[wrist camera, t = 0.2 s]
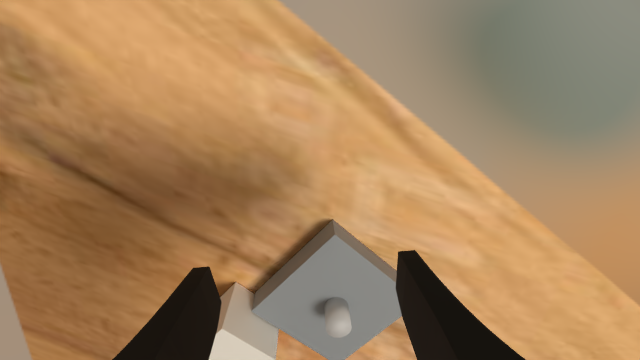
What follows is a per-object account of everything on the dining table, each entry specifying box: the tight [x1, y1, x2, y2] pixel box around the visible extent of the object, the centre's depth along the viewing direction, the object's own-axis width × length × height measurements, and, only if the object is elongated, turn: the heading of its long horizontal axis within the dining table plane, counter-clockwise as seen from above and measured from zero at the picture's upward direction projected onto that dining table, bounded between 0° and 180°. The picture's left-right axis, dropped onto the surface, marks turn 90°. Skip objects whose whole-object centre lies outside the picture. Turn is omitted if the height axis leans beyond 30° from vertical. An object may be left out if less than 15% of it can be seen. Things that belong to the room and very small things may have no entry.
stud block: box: [252, 220, 402, 360], centre depth 24 cm, size 9×9×4 cm
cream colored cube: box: [209, 282, 279, 360], centre depth 24 cm, size 5×5×4 cm
